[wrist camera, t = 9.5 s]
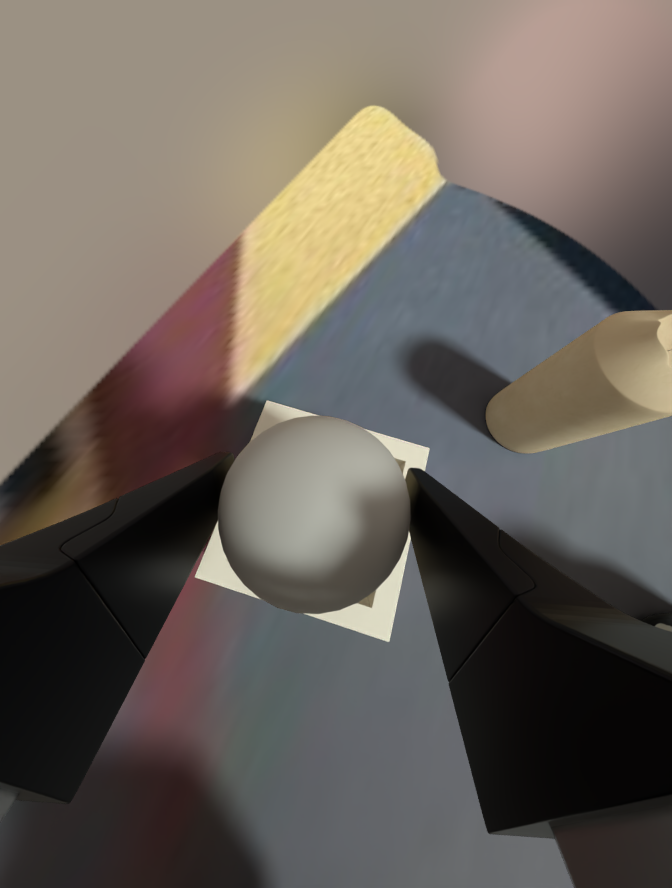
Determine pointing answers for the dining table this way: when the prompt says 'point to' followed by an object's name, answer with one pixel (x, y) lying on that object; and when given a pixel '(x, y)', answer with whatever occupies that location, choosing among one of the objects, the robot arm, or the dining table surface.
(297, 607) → the lightbulb
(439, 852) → the dining table surface
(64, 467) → the dining table surface
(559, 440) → the candle
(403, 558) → the socket
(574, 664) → the robot arm
